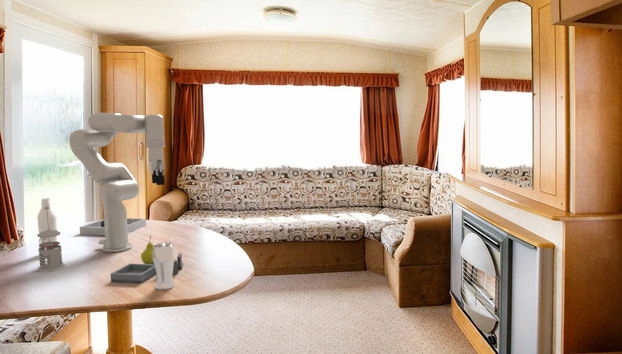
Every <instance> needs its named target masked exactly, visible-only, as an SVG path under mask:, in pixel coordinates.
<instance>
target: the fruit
mask: <svg viewBox="0 0 622 354" xmlns="http://www.w3.org/2000/svg"><path fill="white" fill-rule="evenodd" d="M151 237H152V235H151V234H150V236H149V243H147V244H146V247H145V249H144V250H143V251H142V253H141V255H140V259H141V262H142V264H153V245H154V244H153V243H152V242H151V239H152V238H151Z"/></svg>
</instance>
